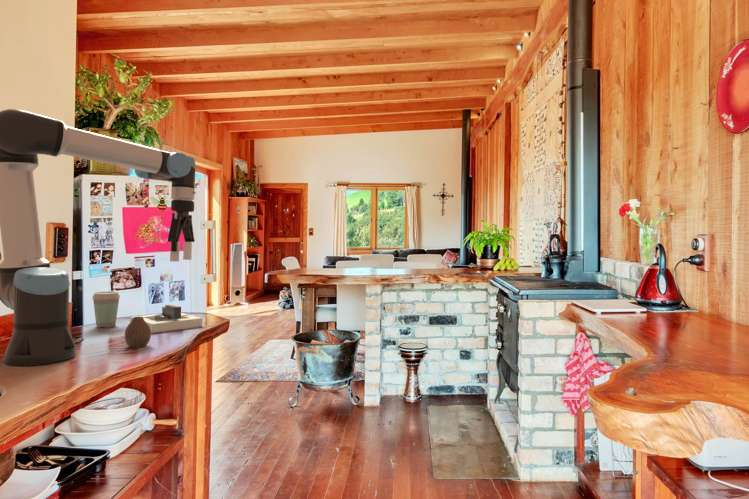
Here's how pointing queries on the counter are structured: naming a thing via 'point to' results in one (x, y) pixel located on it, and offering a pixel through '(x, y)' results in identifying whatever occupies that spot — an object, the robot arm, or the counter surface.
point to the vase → (137, 333)
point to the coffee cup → (106, 308)
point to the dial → (168, 313)
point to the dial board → (171, 323)
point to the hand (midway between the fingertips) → (181, 260)
